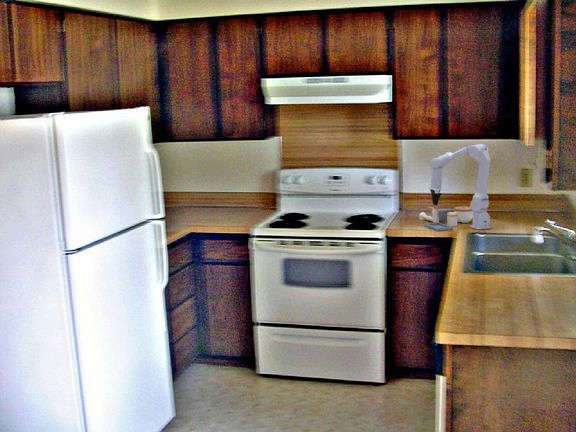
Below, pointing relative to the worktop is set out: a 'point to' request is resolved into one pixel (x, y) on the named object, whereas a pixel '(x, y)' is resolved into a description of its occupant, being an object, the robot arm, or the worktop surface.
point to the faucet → (433, 218)
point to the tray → (438, 226)
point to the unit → (443, 214)
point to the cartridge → (452, 219)
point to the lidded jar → (464, 214)
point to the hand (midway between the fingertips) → (434, 203)
